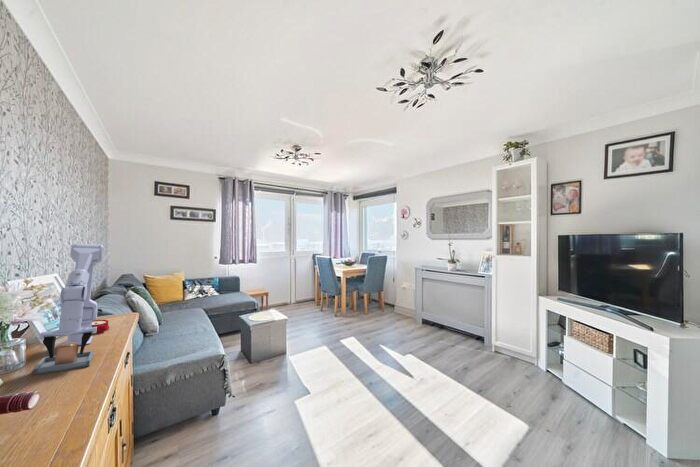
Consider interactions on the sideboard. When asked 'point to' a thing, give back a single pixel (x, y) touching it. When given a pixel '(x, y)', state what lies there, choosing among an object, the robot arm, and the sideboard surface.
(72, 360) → the cup
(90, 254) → the robot arm
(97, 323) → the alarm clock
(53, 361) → the tray
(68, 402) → the sideboard surface
